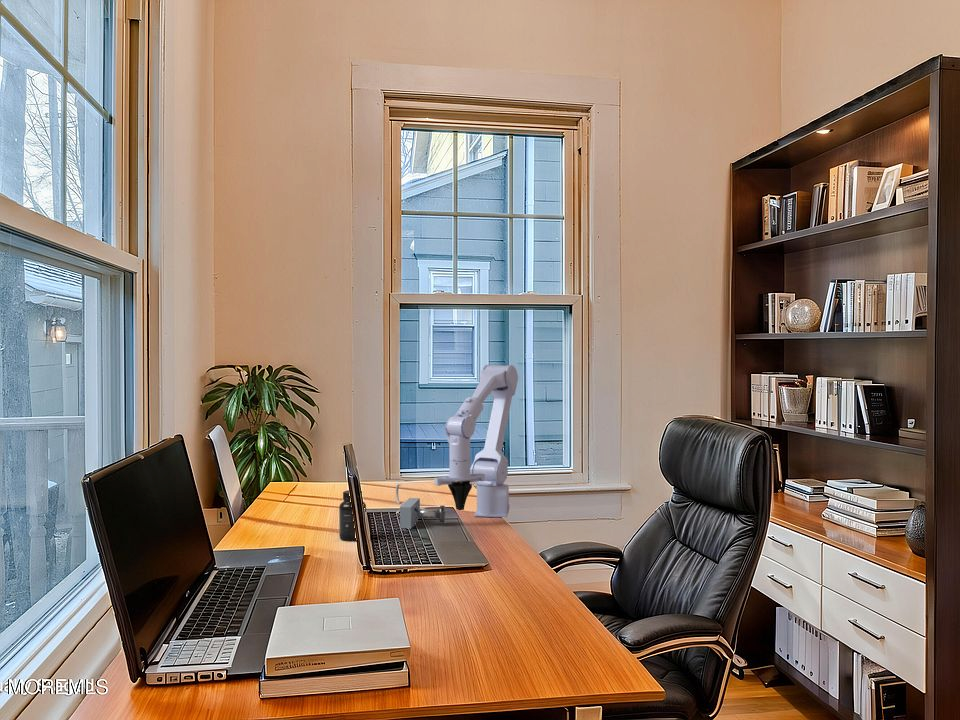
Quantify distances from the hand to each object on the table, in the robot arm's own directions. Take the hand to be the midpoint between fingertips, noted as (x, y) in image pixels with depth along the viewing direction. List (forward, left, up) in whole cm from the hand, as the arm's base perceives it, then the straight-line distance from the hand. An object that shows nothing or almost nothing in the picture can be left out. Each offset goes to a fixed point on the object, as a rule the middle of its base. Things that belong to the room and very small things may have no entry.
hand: (459, 509), depth 201 cm
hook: (+19, -19, -5) cm, 28 cm away
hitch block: (+14, 0, -4) cm, 15 cm away
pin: (+9, 0, -4) cm, 10 cm away
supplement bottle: (+25, +16, -5) cm, 30 cm away
